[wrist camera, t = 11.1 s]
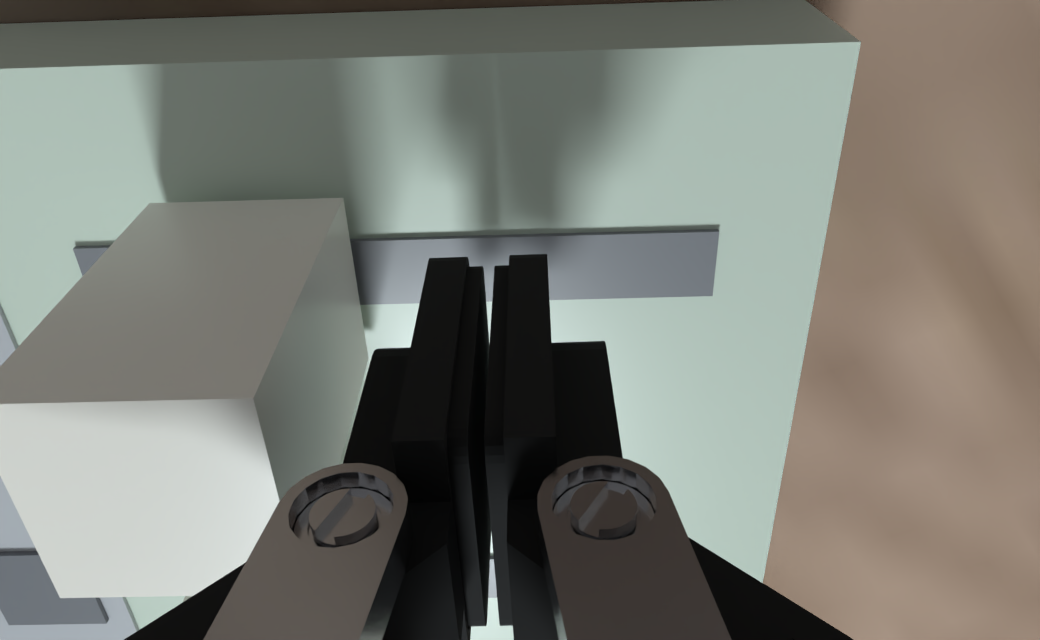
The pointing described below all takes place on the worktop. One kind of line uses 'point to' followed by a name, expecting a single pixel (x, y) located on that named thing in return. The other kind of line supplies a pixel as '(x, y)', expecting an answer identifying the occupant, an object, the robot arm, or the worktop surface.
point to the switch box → (467, 204)
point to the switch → (183, 393)
